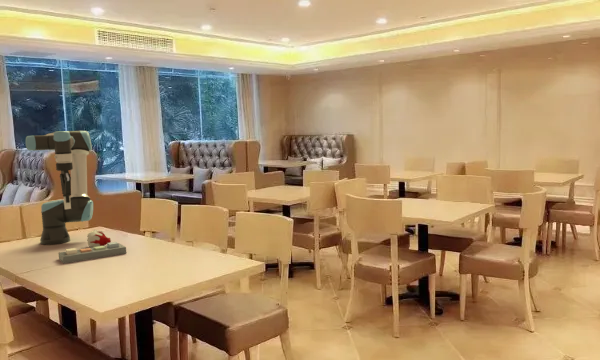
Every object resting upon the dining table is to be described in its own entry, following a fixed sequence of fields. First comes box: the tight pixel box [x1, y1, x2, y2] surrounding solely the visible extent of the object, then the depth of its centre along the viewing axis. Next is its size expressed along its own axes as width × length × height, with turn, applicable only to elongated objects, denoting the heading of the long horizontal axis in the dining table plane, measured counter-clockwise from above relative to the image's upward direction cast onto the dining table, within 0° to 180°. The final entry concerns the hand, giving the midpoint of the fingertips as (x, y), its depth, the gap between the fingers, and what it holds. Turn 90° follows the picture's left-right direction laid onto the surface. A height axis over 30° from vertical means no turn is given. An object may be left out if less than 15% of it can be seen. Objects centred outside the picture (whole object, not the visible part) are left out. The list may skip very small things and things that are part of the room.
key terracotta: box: [79, 247, 92, 253], centre depth 247 cm, size 4×4×3 cm
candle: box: [87, 229, 112, 248], centre depth 269 cm, size 9×11×15 cm
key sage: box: [94, 245, 105, 251], centre depth 251 cm, size 4×4×3 cm
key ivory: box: [64, 247, 78, 255], centre depth 244 cm, size 4×4×3 cm
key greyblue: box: [106, 241, 119, 248], centre depth 255 cm, size 4×4×3 cm
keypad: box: [58, 242, 127, 264], centre depth 249 cm, size 11×29×3 cm, turn 126°
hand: (67, 208), depth 256 cm, fingers closed
